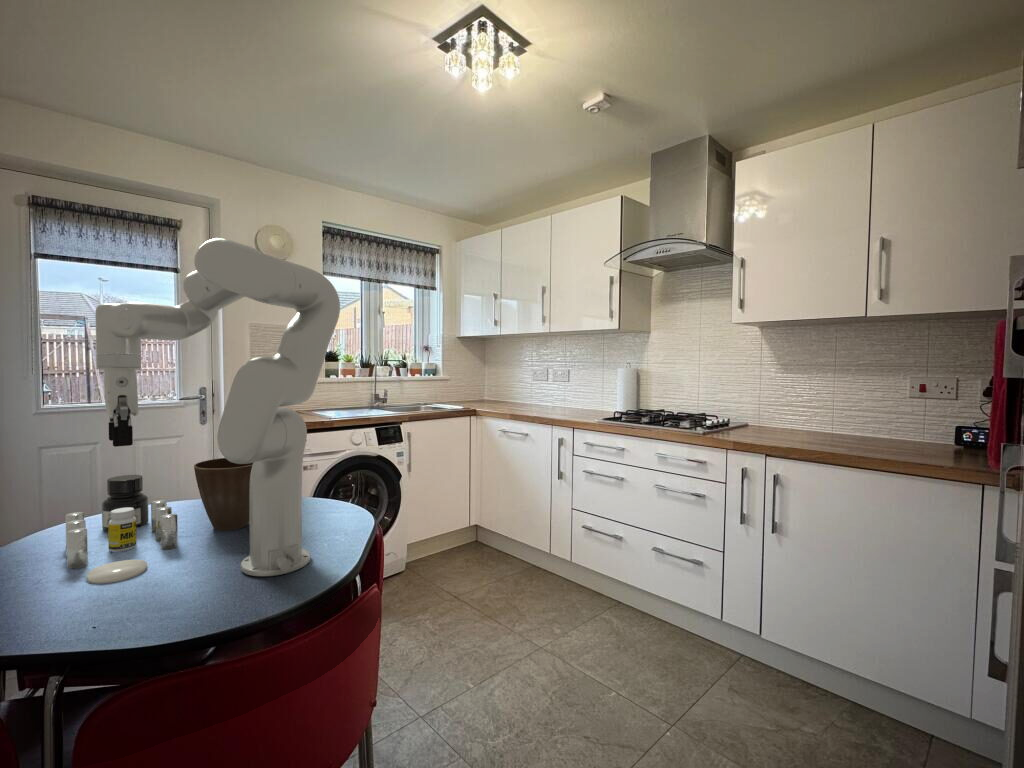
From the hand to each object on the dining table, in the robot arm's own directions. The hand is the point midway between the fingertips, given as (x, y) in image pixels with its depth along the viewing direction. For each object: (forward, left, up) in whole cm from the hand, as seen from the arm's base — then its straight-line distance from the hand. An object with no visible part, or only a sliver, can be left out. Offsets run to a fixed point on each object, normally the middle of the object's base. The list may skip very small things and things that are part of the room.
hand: (120, 442), depth 106 cm
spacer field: (+1, 0, -23) cm, 23 cm away
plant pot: (+1, -21, -23) cm, 31 cm away
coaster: (-15, +2, -23) cm, 27 cm away
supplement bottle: (0, 0, -23) cm, 23 cm away
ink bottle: (+17, -2, -23) cm, 29 cm away
